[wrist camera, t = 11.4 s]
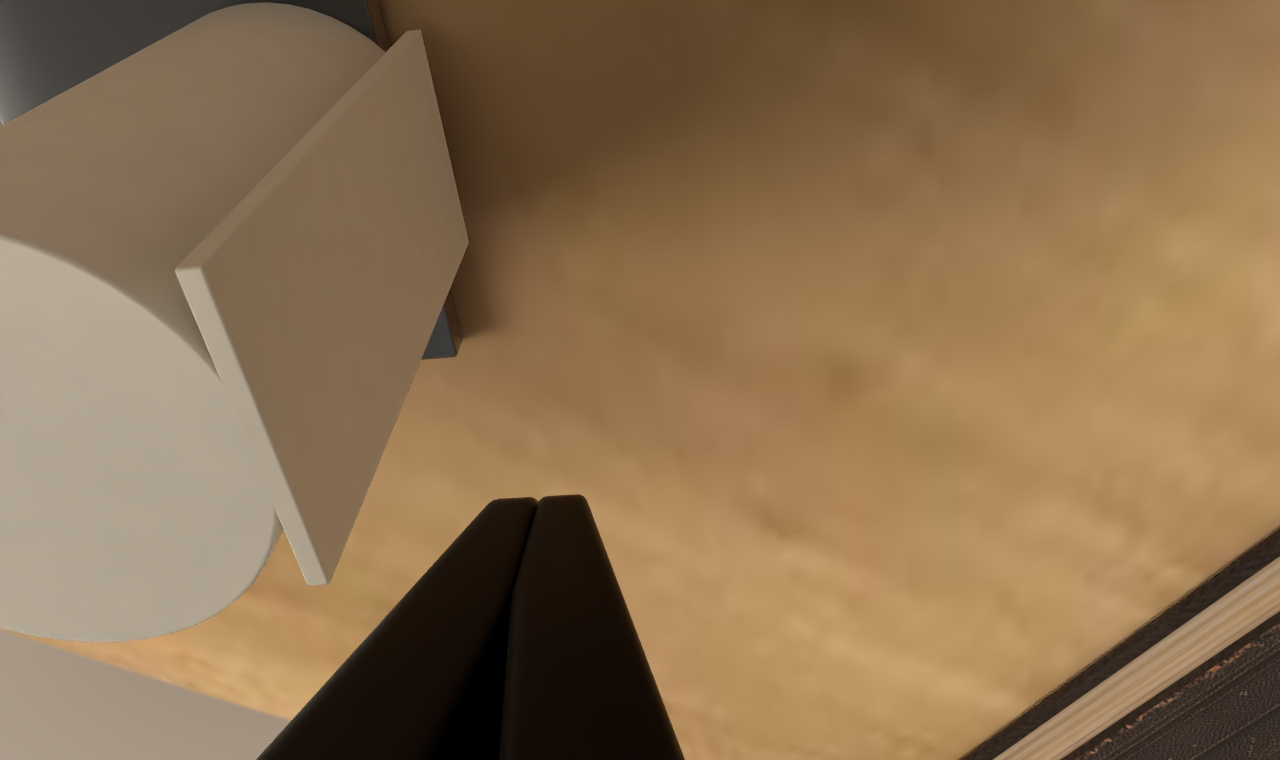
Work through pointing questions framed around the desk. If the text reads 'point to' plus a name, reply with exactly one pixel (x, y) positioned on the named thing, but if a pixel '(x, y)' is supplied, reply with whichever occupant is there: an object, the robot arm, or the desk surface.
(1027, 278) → the desk surface
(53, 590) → the cylinder
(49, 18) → the slate coaster
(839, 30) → the desk surface
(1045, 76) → the desk surface
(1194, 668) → the hardcover book
